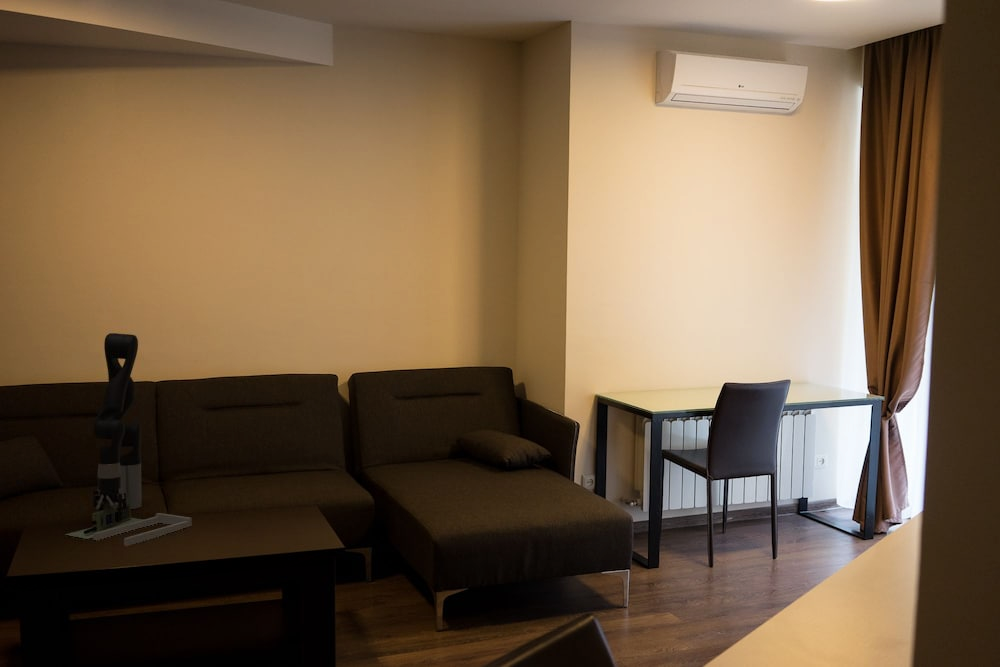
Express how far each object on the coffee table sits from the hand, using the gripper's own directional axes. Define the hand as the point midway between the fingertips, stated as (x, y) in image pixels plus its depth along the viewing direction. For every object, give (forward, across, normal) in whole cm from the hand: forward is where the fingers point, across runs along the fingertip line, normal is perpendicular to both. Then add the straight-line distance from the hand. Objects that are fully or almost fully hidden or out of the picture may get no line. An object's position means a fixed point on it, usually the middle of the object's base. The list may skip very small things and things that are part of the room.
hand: (109, 520), depth 324 cm
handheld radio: (+3, +1, 0) cm, 3 cm away
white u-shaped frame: (+3, -16, 0) cm, 16 cm away
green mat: (+3, 0, 0) cm, 3 cm away
